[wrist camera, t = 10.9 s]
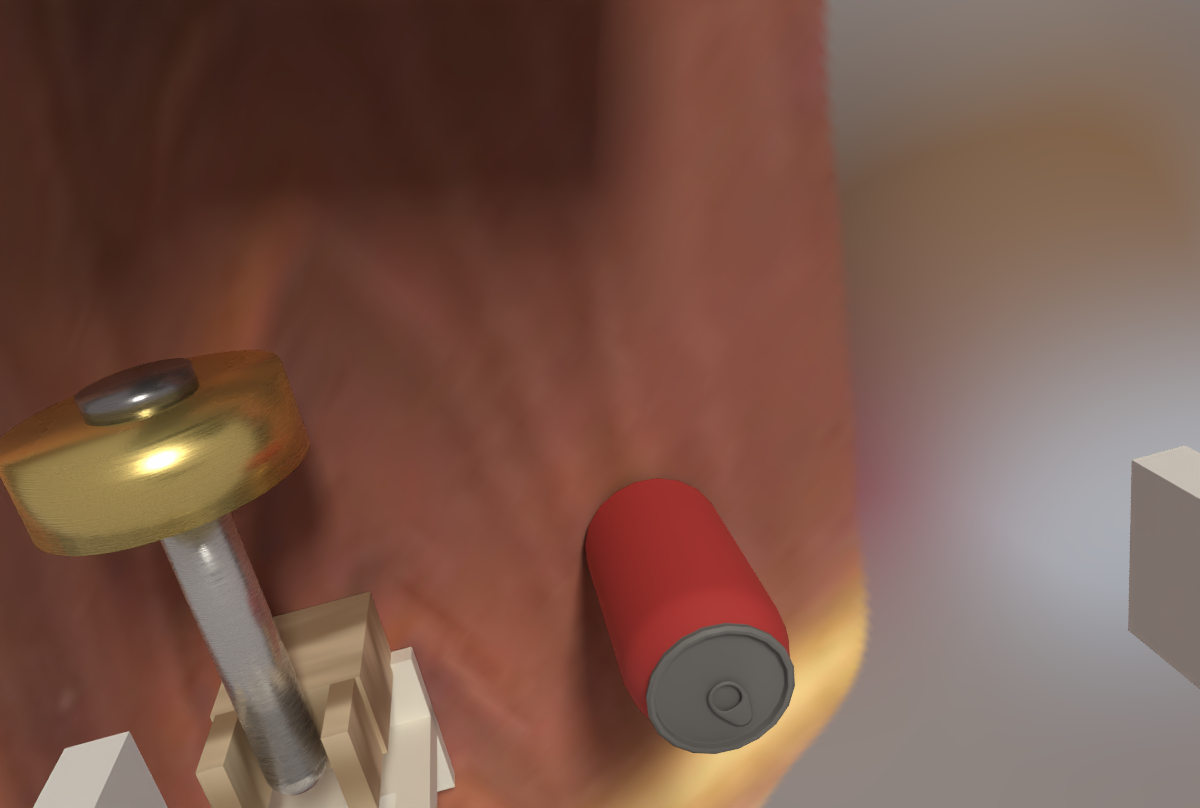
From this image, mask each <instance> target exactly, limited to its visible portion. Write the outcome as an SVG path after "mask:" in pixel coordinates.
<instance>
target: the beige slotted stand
mask: <svg viewBox="0 0 1200 808" xmlns="http://www.w3.org/2000/svg"><path fill="white" fill-rule="evenodd" d="M390 665H391V668H392V671H393V685H392V700H391V714H390V728H389V743H388V753H385V754H383V762H382V775H381V788H380V801H379V808H437V792H438V791H442V790H445V789H449V788H452V787H455V773H454V770H453V767H452V764H451V761H450V758H449V755H448V752H447V749H446V746H445V743H444V740H443V737H442V734H441V731H440V728H439V725H438V722H437V719H436V716H435V714H434V711H433V708H432V705H431V702H430V699H429V696H428V693H427V690H426V687H425V684H424V681H423V678H422V675H421V672H420V669H419V666H418V663H417V660H416V657H415V654H414V652H413V649H412V647H408V648H404V649H401V650H397V651H393V652H391V663H390ZM268 808H348V806H347V803H346V801H345V798H344V796H343V793H342V791H341V788H340V786H339V783H338V781H337V778H336V776H335V773H334V771H333V768H331V769H328V770H325V772H324V775H323V777H322V778H321V780H320V781H319V782H318V783H317V784H316V785H315V786H314V787H313V788H312V789H311V790H309V791H307V792H305V793H303V794H299V795H294V796H289V795H283V794H280V793H278V792H276V791H275V790H273V789H272V793H271V797H270V802H269V806H268Z"/></svg>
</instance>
